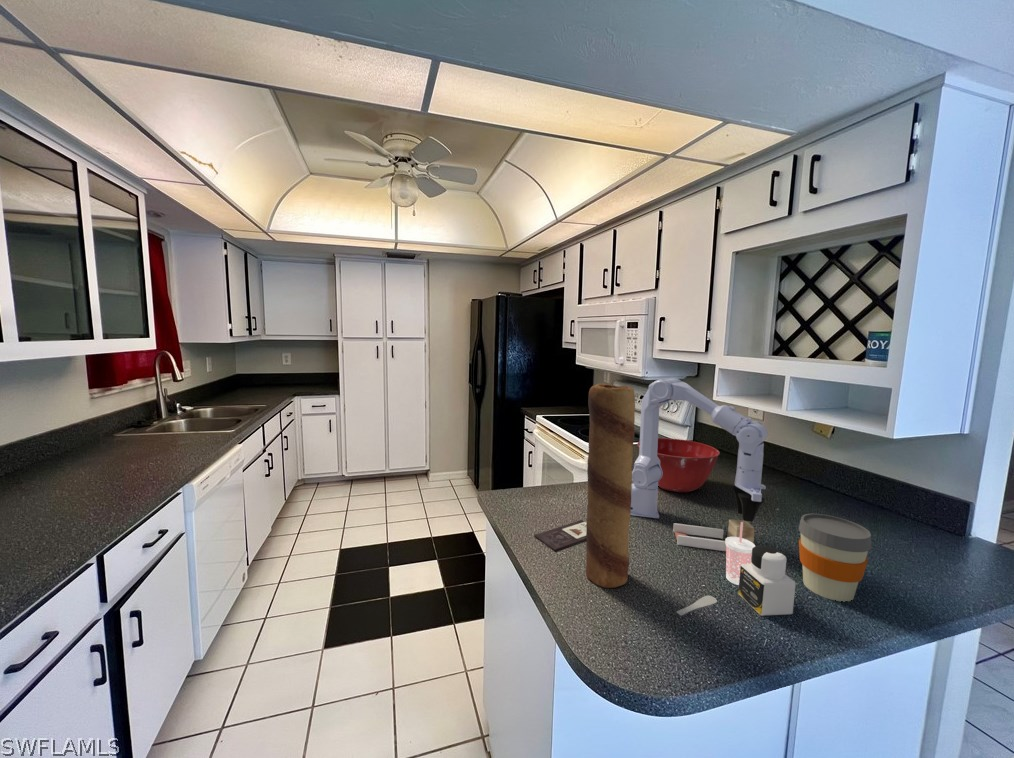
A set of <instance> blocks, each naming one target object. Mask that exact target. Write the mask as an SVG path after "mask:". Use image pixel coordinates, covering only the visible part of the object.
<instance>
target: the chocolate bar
mask: <svg viewBox="0 0 1014 758" xmlns="http://www.w3.org/2000/svg"><path fill="white" fill-rule="evenodd" d="M586 524H587V521H584V520H582V519H581V520H578V521H574V522H571V523H567V524H565V525H561V526H558V527H556V528H551V529H549V530H546V531H543V532H539V533H536V534H534V535H533V537H534V538H535V539H536V540H538V541H539V542H540V543H542V544H543V545H545V546H546V547H547V548H549V549H550V550H552V551H553V552H558V551H560V550H564V549H566V548H569V547H571V546H574V545H577V544H580V543H583V542H586V531H587V526H586Z"/></svg>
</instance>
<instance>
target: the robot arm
mask: <svg viewBox="0 0 1014 758" xmlns="http://www.w3.org/2000/svg"><path fill="white" fill-rule="evenodd" d="M669 401H686V402H687V403H689V404H691V405H693V406H695V407H696V408H698V409H700V410H702V411H703V412H704V413H706V414H708V415H709V416H711V420H712V422H713V423H714V424H716V425H717V426H719V428H720V427H721V428H722V429H723V430H725V431H726V432H728V433H729V434H731V435H732V436H734V437H735V438H736V440H737V442H738V451H737V460H736V461H737V463H736V474H735V477H734V479H735V480H734V485H731V490H732V491H733V494H734V497H735V503H736V504H735V505H736V509H737V513H738V514H739V515H742V520H744V521H747V522H751V523H752V522H754V519H755V517H756V514H757V512H758V510H759V508H760V507H761V505H762V504H763V503H764V502H765V498H764V497H763V494H762V490H766V488H767V487H766V485H764V484H763V483H762V477H763V476H762V474H763V463H764V446H765V444H764V442H765V441H766V440H767V439H768V435H769V434H768V429H767V427H766V426H765V425H763V423H761V422H760V421H756V420H755V421H752V420H753V419H752V418H751V417H746V416H745V415H743V414H742V413H740V412H738V411H736V408H735V406H733V405H730V406H728V405H726V404H724V405H719V404H717V403H715V402H714V401H712V400H711V399H709V397H706V396H705V395H703V394H702V393H701V392H699V391H698V390H696V389H695V388H693V387H692V386H691V385H690V384H689V383H687V382H685V381H682V380H680V379H679V378H677V377H670V378H664V379H656V380H655V381H654V382H651V383H650V384H649V385H648V389H647V391H646V393H645V394H644V396H643V397H642V399H641V405H640V406H641V407H640V429H639V441H640V448H639V447H638V452H639V453H638V456H637V458H636V460H634V461H635V462H634V463H633V470H632V490H631V515H630V516H635V517H636V516H637V517H642V518H643V517H644V518H650V519H651V518H653V519H660V514H659V512H658V496H659V487H658V481H659V480H660V479H661V478H662V475H663V472H662V469H661V466H660V460H659V458H658V457H657V448H658V438H659V426H660V425H659V423H660V408H661V407H662V406H663V405H665V404H666V403H667V402H669Z"/></svg>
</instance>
